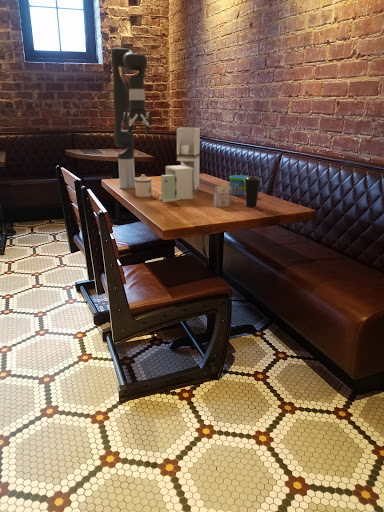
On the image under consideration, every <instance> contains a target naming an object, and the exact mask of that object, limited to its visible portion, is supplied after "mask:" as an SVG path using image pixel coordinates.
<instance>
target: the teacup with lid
mask: <svg viewBox="0 0 384 512" xmlns="http://www.w3.org/2000/svg"><path fill="white" fill-rule="evenodd" d="M152 194H153V193H152V178H151V177H148V176H146V174H141V176H138V177H137V178H136V177H135V196H136V197H138V198H150V197H151V196H152Z"/></svg>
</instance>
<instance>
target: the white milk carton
mask: <svg viewBox="0 0 384 512" xmlns="http://www.w3.org/2000/svg"><path fill="white" fill-rule="evenodd" d="M229 187H230V185H218V186H215V188H214V192H213V206H214V207H215V208H225V207H230V189H229Z"/></svg>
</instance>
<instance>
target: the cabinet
mask: <svg viewBox="0 0 384 512" xmlns="http://www.w3.org/2000/svg"><path fill="white" fill-rule="evenodd" d="M171 174H172V175H175V198H169V199H163V201H162V196H158V200H159V201H162V202H163V203H169V202H170V203H171V202H177V201H178V200H179V201H180V200H181V199H182V200H191V199H194V193H193V168H191V167H188V166H184V165H181V164H179V165H166V166H165V175H171Z"/></svg>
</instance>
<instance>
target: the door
mask: <svg viewBox="0 0 384 512" xmlns="http://www.w3.org/2000/svg"><path fill="white" fill-rule="evenodd" d="M160 182H161V183H160V184H161V185H160V187H161V189H160V190H161V193H160V194H161V197H162V200H161V201H162V202H163V199H169V198H175V175H172V174H171V175H166V174H161V175H160Z"/></svg>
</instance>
